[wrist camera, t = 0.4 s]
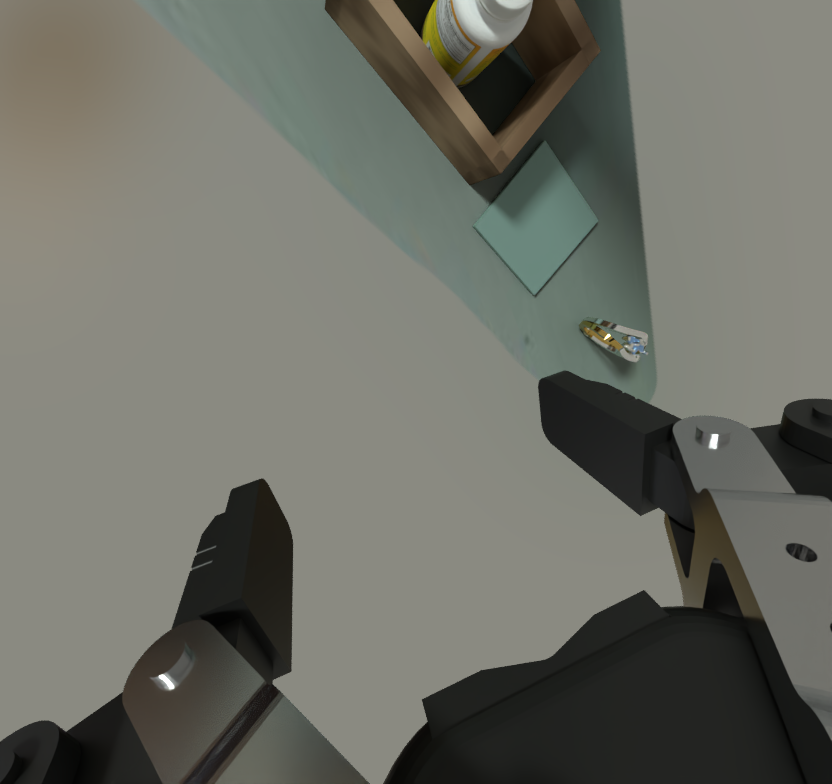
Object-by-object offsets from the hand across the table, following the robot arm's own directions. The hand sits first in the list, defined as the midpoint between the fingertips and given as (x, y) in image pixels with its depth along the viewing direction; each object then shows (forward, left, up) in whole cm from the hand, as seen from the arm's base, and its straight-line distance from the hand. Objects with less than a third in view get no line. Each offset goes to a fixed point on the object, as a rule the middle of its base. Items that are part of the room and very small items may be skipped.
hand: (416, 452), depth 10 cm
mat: (-6, +21, -28) cm, 35 cm away
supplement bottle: (-19, +13, -28) cm, 36 cm away
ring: (+7, +29, -28) cm, 40 cm away
